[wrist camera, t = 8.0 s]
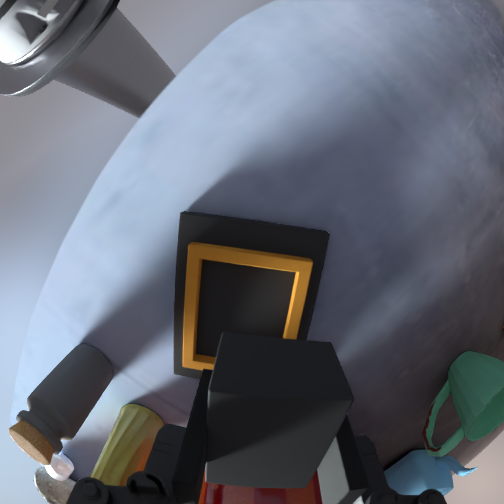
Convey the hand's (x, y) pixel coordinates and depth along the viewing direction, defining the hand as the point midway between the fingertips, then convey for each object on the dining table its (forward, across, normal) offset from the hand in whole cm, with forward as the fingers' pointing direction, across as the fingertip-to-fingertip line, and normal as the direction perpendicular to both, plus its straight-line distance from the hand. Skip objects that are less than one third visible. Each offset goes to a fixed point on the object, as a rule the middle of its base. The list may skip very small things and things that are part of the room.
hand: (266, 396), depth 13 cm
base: (+12, -2, -1) cm, 12 cm away
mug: (+12, +26, -9) cm, 30 cm away
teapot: (+12, +31, -29) cm, 44 cm away
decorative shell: (+13, -39, -60) cm, 73 cm away
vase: (+12, -13, -20) cm, 26 cm away
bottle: (+12, -18, -12) cm, 25 cm away
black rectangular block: (0, 0, 0) cm, 0 cm away
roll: (+12, -34, -44) cm, 57 cm away
